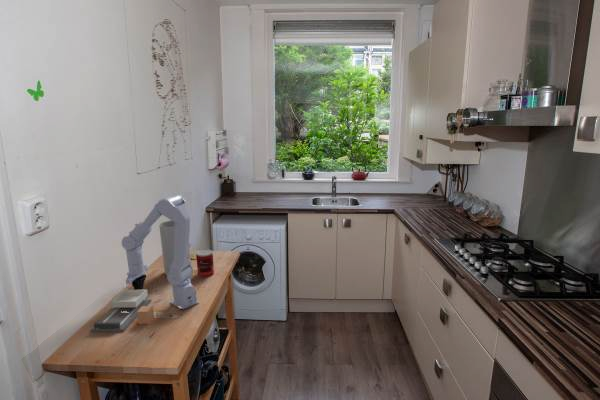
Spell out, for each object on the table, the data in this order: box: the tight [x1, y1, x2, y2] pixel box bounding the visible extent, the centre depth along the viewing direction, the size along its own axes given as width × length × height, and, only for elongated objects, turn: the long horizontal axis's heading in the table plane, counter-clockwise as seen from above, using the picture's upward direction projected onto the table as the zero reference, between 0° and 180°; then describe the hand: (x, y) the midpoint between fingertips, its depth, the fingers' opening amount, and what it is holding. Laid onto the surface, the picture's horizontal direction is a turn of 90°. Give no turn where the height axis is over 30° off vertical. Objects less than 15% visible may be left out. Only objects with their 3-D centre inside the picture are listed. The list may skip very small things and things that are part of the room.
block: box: [137, 305, 155, 325], centre depth 136 cm, size 4×4×5 cm
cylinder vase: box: [159, 220, 192, 276], centre depth 177 cm, size 12×12×25 cm
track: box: [90, 298, 152, 333], centre depth 141 cm, size 22×12×3 cm, turn 177°
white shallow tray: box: [109, 289, 149, 309], centre depth 146 cm, size 10×10×4 cm
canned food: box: [195, 249, 215, 278], centre depth 176 cm, size 8×8×11 cm
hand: (139, 292), depth 154 cm, fingers closed
